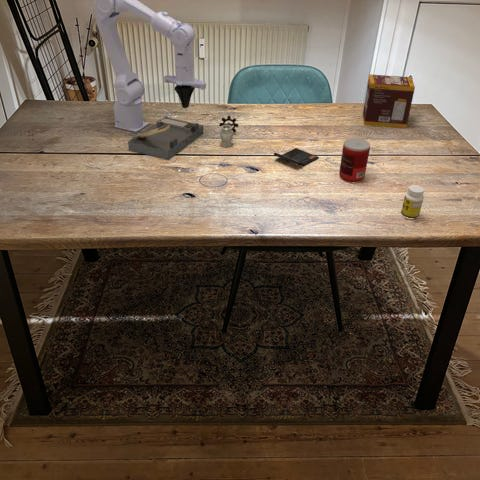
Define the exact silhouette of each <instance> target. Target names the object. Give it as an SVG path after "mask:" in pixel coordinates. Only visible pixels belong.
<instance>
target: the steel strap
mask: <svg viewBox="0 0 480 480" xmlns="http://www.w3.org/2000/svg"><path fill="white" fill-rule="evenodd" d="M161 120H162V119H161ZM161 120H160V121H161ZM191 123H192V122H190V123H188V124H187V123H183V122H178V121H174V120H169V119H164V118H163V120H162V121H161V124H164V125H167V124H168V125H169V126H173V127H177V128H181V129H186V130H190V131H191V130H192V125H194V124H191Z"/></svg>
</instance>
